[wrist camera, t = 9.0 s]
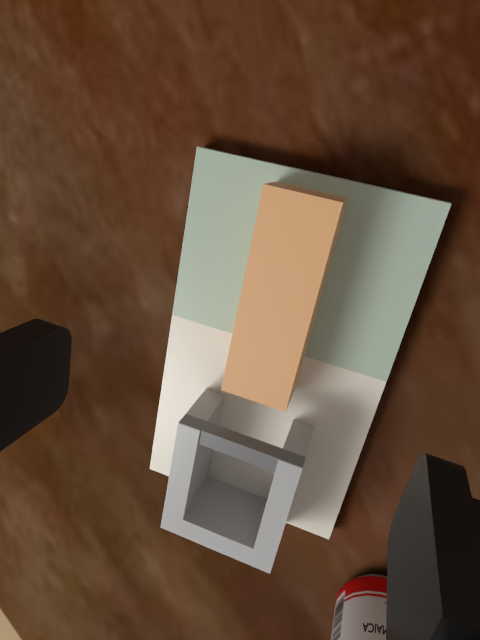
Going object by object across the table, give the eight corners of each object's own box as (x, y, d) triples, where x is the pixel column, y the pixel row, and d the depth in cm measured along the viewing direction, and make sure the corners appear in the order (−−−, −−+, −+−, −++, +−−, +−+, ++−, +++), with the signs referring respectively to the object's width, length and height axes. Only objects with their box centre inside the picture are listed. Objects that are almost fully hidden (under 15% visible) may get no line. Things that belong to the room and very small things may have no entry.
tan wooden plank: (348, 197, 24) (343, 202, 22) (295, 388, 29) (285, 412, 26) (277, 181, 25) (263, 183, 23) (236, 369, 30) (220, 390, 27)
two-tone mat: (449, 202, 24) (464, 213, 19) (330, 529, 33) (319, 594, 28) (203, 147, 27) (161, 144, 22) (155, 461, 36) (117, 509, 31)
